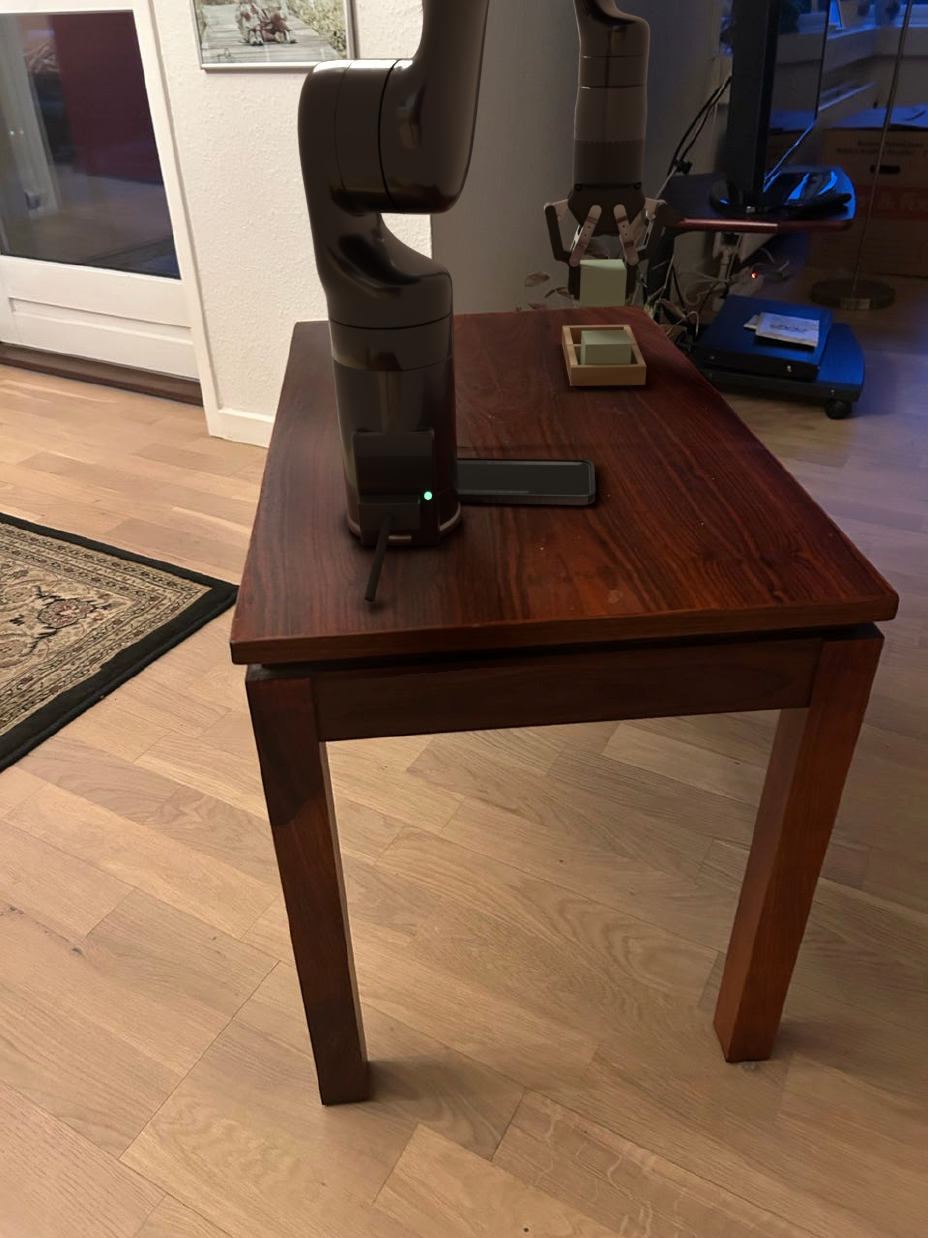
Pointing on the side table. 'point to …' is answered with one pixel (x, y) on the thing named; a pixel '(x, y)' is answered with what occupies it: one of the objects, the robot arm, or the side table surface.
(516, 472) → the phone
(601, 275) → the green block
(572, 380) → the holder
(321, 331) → the side table surface
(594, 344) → the green foam block
